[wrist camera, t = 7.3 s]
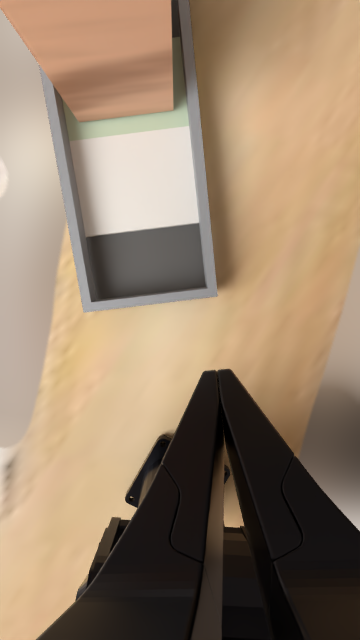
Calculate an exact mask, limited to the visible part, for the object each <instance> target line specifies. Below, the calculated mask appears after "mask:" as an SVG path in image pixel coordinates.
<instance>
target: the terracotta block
mask: <svg viewBox="0 0 360 640" xmlns="http://www.w3.org/2000/svg"><path fill="white" fill-rule="evenodd" d="M0 8H1V10H2V11H3V13H4V14H5V16H6V17H7V18H8V20H9V21H10V23H11V24H12V25H13V27H14V29H15V30H16V32H17V33H18V34H19V36H20V37H21V39H22V40H23V42H24V43H25V45H26V46H27V47H28V49H29V50H30V52H31V53H32V55H33V56H34V57H35V59H36V60H37V62H38V63H39V65H40V66H41V68H42V69H43V71H44V72H45V74H46V75H47V77H48V78H49V79H50V81H51V82H52V84H53V85H54V87H55V88H56V90H57V91H58V92H59V94H60V95H61V97H62V98H63V100H64V101H65V103H66V104H67V106H68V107H69V108H70V110H71V111H72V113H73V114H74V116H75V117H76V119H77V120H78V121H79V122H87V121H95V120H102V119H110V118H118V117H126V116H134V115H141V114H149V113H157V112H165V111H173V64H172V18H171V0H0Z"/></svg>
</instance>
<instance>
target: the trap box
mask: <svg viewBox="0 0 360 640" xmlns="http://www.w3.org/2000/svg"><path fill="white" fill-rule="evenodd" d="M171 18H172V64H173V111H165V112H157V113H149V114H141V115H134V116H126V117H118V118H110V119H102V120H95V121H87V122H79V121H78V120H77V119H76V117H75V116H74V114H73V113H72V111H71V110H70V108H69V107H68V106H67V104H66V103H65V101H64V100H63V98H62V97H61V95H60V94H59V92H58V91H57V90H56V88H55V87H54V85H53V84H52V82H51V81H50V79H49V78H48V77H47V75H46V74H45V72H44V71H43V69H42V68H41V66H40V65H39V68H40V73H41V79H42V84H43V90H44V95H45V101H46V107H47V111H48V118H49V123H50V129H51V134H52V140H53V145H54V151H55V156H56V162H57V167H58V173H59V178H60V184H61V189H62V195H63V200H64V206H65V212H66V217H67V223H68V228H69V234H70V239H71V245H72V251H73V256H74V262H75V267H76V273H77V278H78V284H79V289H80V295H81V300H82V306H83V312H92V311H100V310H109V309H117V308H125V307H133V306H142V305H150V304H158V303H167V302H175V301H183V300H192V299H200V298H208V297H217V296H218V294H217V284H216V274H215V263H214V253H213V243H212V233H211V222H210V212H209V202H208V191H207V181H206V171H205V160H204V150H203V140H202V130H201V119H200V109H199V99H198V88H197V78H196V68H195V57H194V47H193V37H192V27H191V16H190V6H189V0H171Z"/></svg>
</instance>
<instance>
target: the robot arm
mask: <svg viewBox="0 0 360 640" xmlns="http://www.w3.org/2000/svg"><path fill="white" fill-rule="evenodd" d="M217 375H218V376H217ZM218 384H219V385H218ZM219 393H220V394H219ZM221 412H222V413H221ZM222 421H223V422H222ZM223 430H224V431H223ZM224 438H225V444H226V449H227V453H228V458H229V462H230V466H231V470H232V475H233V479H234V483H235V487H236V492H237V496H238V500H239V505H240V509H241V513H242V517H243V522H244V526H240V528H233V527H225V526H224V520H223V516H224V484H225V483H226V481H227V479H228V478H229V476H230V469H229V467H228V466H227V465H225V464H224V452H225V447H224ZM162 441H164V442H165V444H161V443H160V442H162ZM224 471H226V472H225V473H224ZM130 496H133V497H134V498H130ZM125 501H126V502H127V503H128V504H130V505H132V506H135V507H137V508H138V509H137V510H136V512H135V514H134V516H133V517H132V519H131V520H121V518H119V517H112V519H111V521H110V524H109V527H108V528H106V529H105V532H104V534H103V537H102V539H101V542H100V543H99V546H98V550H97V552H96V555H95V557H94V560H93V562H92V565H91V568H90V571H89V574H88V576H87V577H86V578H85V580H84V581H83V583H82V584H81V586H80V587H79V589H78V592H77V596H76V601H75V602H74V603H73V604H72V605H71V606H70V607H69V608H68V609H67V610H66V611H65V612H64V613H63V614H62V615H61V616H60V617H59V618H58V619H57V620H56V621H55V622H54V623H53V624H52V625H51V626H50V627H49V628H48V629H47V630H45V631H44V632H43V633H42V634H41V635H40V636H39V637H38V638H37V639H36V640H360V531H359V530H358V529H357V528H356V527H355V526H354V525H353V524H352V523H351V521H350V520H349V519H348V518H347V517H346V516H345V515H344V514H343V513H342V512H341V511H340V510H339V509H338V507H337V506H336V505H335V504H334V503H333V502H332V500H331V499H330V498H329V497H328V496H327V495H326V494H325V493H324V491H322V489H321V488H320V487H319V486H318V485H317V483H316V482H315V480H314V479H313V478H312V477H311V475H310V474H309V473H308V472H307V470H306V469H305V468H304V466H303V465H302V464H301V462H300V461H299V460H298V458H297V457H296V456H294V453H293V452H292V451H291V449H290V448H289V446H288V445H287V444H286V442H285V441H284V440H283V438H282V437H281V436H280V434H279V433H278V432H277V430H276V429H275V428H274V426H273V425H272V424H271V422H270V421H269V420H268V418H267V417H266V416H265V414H264V413H263V412H262V410H261V409H260V408H259V406H258V405H257V404H256V402H255V401H254V400H253V398H252V397H251V395H250V394H249V393H248V391H247V390H246V389H245V387H244V386H243V385H242V383H241V382H240V381H239V379H238V378H237V377H236V375H235V374H234V373H233V371H232V370H231V369H221V370H218V371H216V370H210V371H204V372H203V373H202V375H201V377H200V380H199V382H198V384H197V386H196V388H195V390H194V393H193V395H192V397H191V399H190V401H189V403H188V406H187V408H186V410H185V412H184V414H183V416H182V419H181V421H180V423H179V425H178V427H177V429H176V431H175V434H174V436H173V438H172V439H171V438H169V437H167V436H160V437H159V438H158V439H157V440H156V442H155V444H154V446H153V447H152V449H151V451H150V453H149V454H148V456H147V458H146V460H145V461H144V463H143V465H142V467H141V468H140V470H139V472H138V474H137V475H136V477H135V479H134V481H133V482H132V484H131V486H130V488H129V489H128V491H127V493H126V497H125Z"/></svg>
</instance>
